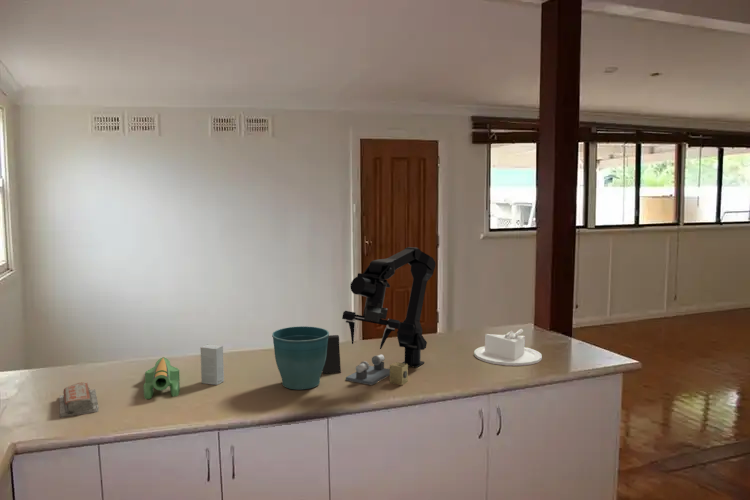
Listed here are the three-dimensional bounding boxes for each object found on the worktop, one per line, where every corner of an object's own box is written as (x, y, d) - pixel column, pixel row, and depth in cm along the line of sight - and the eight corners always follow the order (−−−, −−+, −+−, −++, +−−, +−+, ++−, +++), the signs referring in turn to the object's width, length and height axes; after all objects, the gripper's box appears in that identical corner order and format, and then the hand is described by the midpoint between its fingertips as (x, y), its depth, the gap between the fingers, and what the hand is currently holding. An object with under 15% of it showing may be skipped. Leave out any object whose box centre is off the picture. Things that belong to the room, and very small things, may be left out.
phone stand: (340, 372, 210) (340, 338, 209) (323, 373, 209) (323, 339, 208) (336, 365, 219) (336, 332, 218) (320, 366, 218) (319, 333, 216)
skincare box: (224, 381, 201) (223, 345, 200) (217, 385, 197) (216, 349, 195) (208, 379, 203) (207, 344, 201) (200, 383, 199) (199, 347, 197)
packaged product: (98, 396, 174) (59, 402, 169) (99, 413, 174) (60, 419, 170) (94, 378, 190) (58, 383, 185) (95, 393, 190) (59, 399, 186)
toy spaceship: (147, 369, 214) (146, 348, 213) (179, 366, 217) (178, 346, 217) (142, 400, 184) (142, 376, 183) (179, 396, 187) (179, 373, 186)
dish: (549, 354, 235) (551, 325, 234) (528, 370, 214) (529, 339, 213) (489, 344, 249) (490, 317, 247) (463, 359, 228) (464, 329, 226)
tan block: (389, 382, 200) (389, 364, 199) (395, 379, 204) (395, 361, 203) (402, 385, 198) (402, 367, 197) (408, 381, 201) (408, 364, 200)
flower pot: (331, 392, 191) (331, 338, 189) (273, 395, 188) (272, 341, 186) (326, 374, 208) (326, 325, 207) (272, 377, 205) (272, 327, 204)
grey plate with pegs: (369, 368, 215) (369, 351, 215) (394, 372, 210) (394, 355, 210) (345, 380, 203) (345, 362, 202) (372, 385, 198) (372, 366, 197)
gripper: (346, 292, 192) (337, 342, 190) (405, 303, 192) (396, 353, 191) (347, 294, 203) (338, 340, 201) (402, 304, 204) (394, 351, 202)
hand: (366, 346), depth 199 cm, fingers open, 9 cm apart
